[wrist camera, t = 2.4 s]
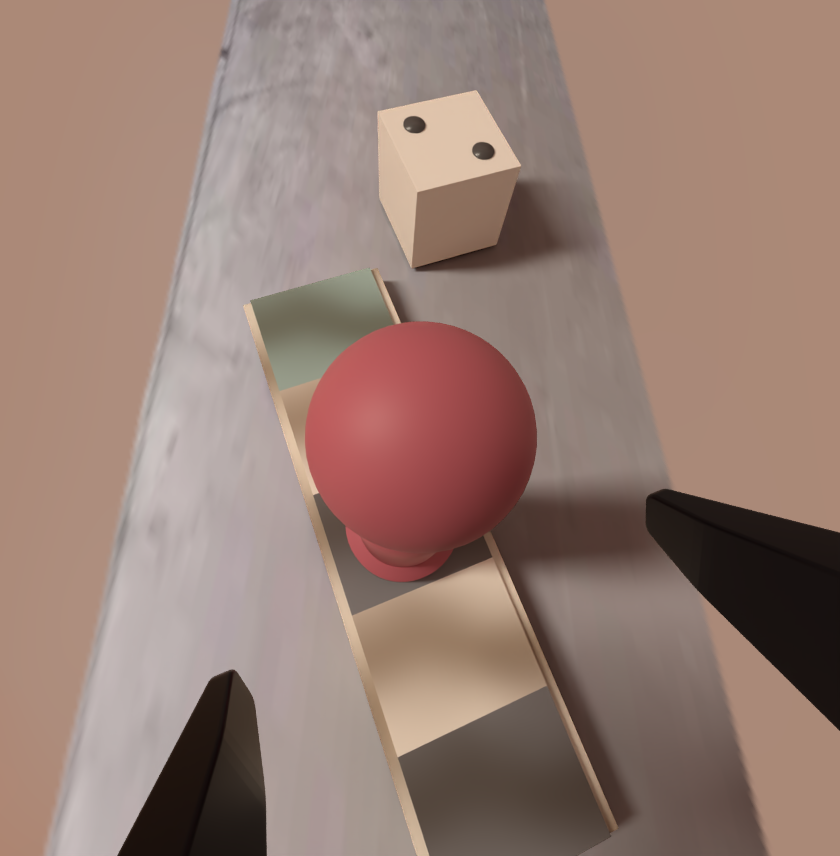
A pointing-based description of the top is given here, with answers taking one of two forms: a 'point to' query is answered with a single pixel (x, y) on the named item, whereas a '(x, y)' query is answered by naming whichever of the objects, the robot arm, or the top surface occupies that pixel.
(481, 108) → the die
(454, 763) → the board
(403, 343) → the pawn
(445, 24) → the top surface
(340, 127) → the top surface
